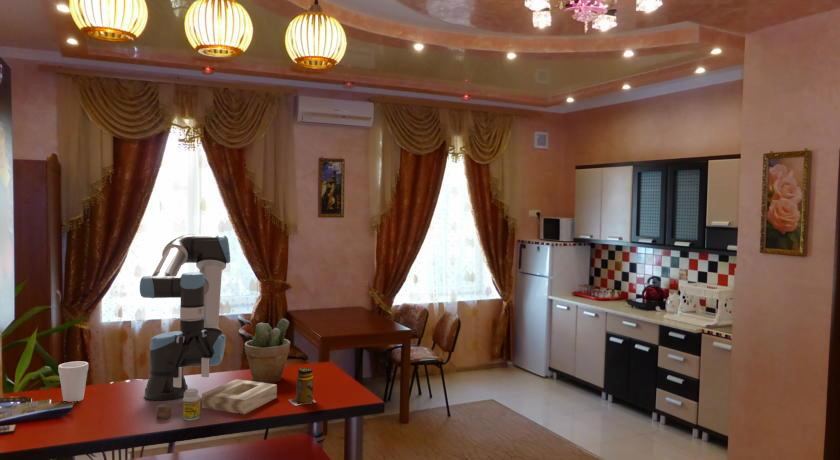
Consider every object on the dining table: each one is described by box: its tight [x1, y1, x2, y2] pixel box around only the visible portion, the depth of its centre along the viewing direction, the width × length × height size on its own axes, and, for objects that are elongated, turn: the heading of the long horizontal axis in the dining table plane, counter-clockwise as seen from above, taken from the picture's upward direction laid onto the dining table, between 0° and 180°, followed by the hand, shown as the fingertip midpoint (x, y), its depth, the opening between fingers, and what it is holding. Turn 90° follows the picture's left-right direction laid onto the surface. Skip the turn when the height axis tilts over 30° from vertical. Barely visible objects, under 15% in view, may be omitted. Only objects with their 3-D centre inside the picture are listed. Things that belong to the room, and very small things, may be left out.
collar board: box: [201, 378, 278, 415], centre depth 222 cm, size 18×20×5 cm
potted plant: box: [244, 318, 291, 384], centre depth 251 cm, size 18×19×25 cm
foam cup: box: [57, 360, 89, 403], centre depth 221 cm, size 10×9×13 cm
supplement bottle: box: [182, 388, 201, 422], centre depth 204 cm, size 5×5×10 cm
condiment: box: [288, 367, 317, 407], centre depth 224 cm, size 7×8×12 cm
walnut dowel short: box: [156, 403, 172, 420], centre depth 205 cm, size 4×4×4 cm
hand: (191, 381), depth 204 cm, fingers open, 13 cm apart
